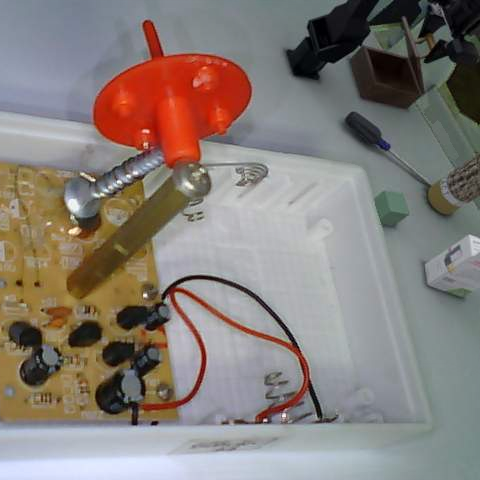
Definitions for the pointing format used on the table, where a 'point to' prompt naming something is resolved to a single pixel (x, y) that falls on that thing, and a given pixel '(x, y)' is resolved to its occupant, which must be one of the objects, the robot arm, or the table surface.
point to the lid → (414, 54)
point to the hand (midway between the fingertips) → (421, 53)
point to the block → (391, 207)
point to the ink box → (456, 268)
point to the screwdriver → (374, 137)
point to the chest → (385, 77)
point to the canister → (456, 187)
